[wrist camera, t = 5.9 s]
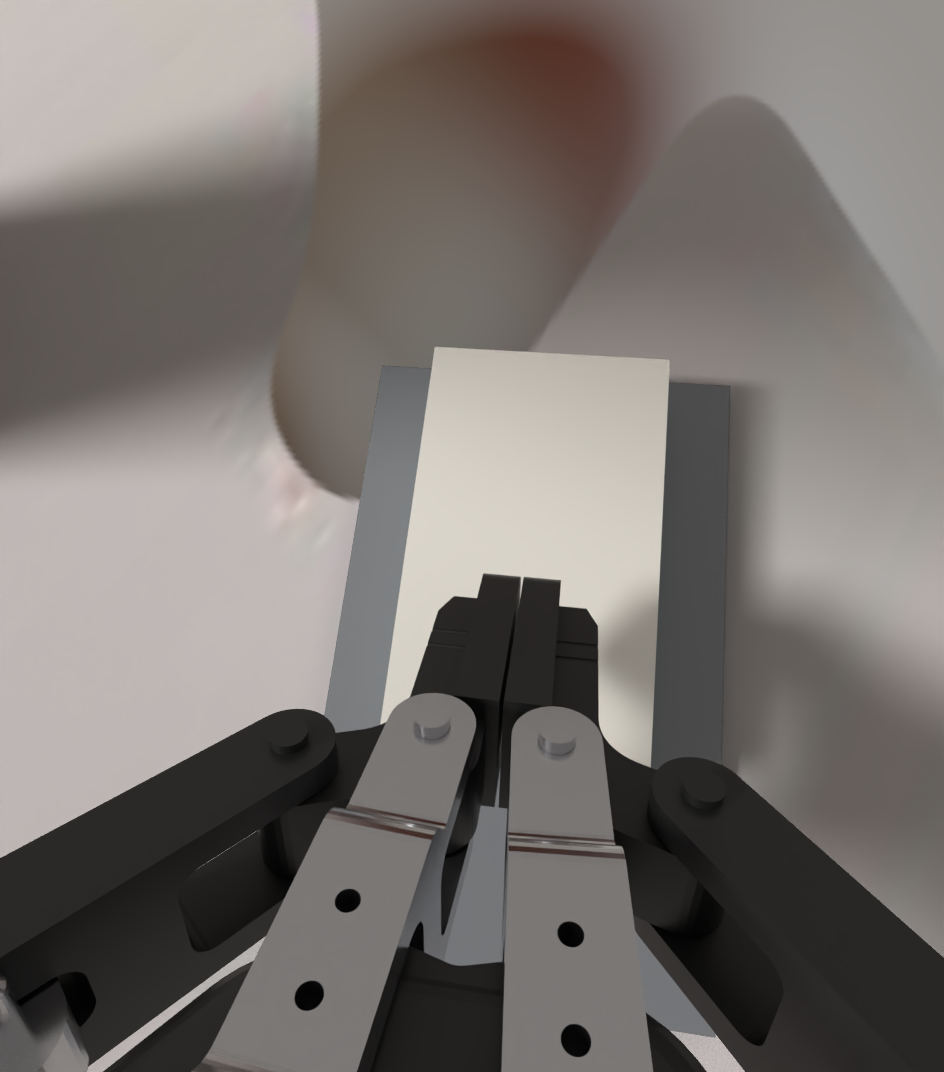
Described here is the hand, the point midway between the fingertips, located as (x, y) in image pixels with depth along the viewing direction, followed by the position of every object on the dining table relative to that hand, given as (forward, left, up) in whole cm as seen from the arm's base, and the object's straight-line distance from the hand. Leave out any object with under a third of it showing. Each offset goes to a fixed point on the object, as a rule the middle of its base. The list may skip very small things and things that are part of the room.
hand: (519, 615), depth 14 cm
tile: (0, -3, -4) cm, 5 cm away
